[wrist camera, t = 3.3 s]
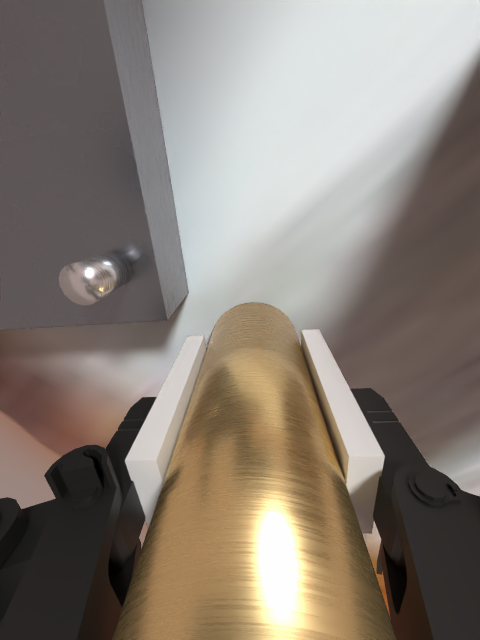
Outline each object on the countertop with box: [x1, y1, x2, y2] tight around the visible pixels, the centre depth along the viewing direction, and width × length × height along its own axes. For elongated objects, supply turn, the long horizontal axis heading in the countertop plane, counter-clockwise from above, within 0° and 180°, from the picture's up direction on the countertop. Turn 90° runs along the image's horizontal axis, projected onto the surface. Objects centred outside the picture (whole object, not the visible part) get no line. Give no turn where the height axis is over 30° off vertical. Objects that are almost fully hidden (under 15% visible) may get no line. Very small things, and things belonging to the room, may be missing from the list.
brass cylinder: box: [112, 303, 397, 640], centre depth 9 cm, size 4×4×12 cm
